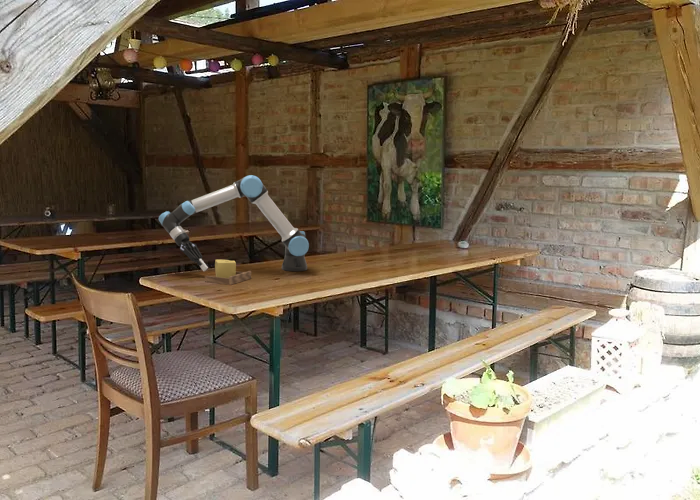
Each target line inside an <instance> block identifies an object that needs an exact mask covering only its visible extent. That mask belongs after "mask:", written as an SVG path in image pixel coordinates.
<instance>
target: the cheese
mask: <svg viewBox="0 0 700 500" xmlns="http://www.w3.org/2000/svg"><path fill="white" fill-rule="evenodd" d="M214 270H215V277H222V278H229V277H230V276H234V275H236V271H237V263H236V261H235V260H229V259H215V262H214Z"/></svg>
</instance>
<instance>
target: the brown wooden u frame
mask: <svg viewBox="0 0 700 500" xmlns="http://www.w3.org/2000/svg"><path fill="white" fill-rule="evenodd" d="M251 279H252V271H251V270H248V271H238V270H236V275H234V276H230V277H229V278H222V277H216V276H214V275H213V276H211V275H205V283H212V284H220V285H229V286H232V285H234V284H237V283H241V282H245V281H248V280H251Z"/></svg>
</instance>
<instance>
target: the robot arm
mask: <svg viewBox="0 0 700 500" xmlns="http://www.w3.org/2000/svg"><path fill="white" fill-rule="evenodd" d="M243 197H246V198H247V200H248V201H249V202H250V203H251V204H254V205H256V206H257V208H258V209H259V210H260V212H261V213H262V214H263V215H264V217H265V218H266V219H267V220H268V222H269V223H270V224H271V225H272V227H273V228H274V229H275V230H276V232H277V233H278V235H280V237H281V242H282V243H283V245H284V247H285V248H284V249H285V250H284V258H283V261H282V264H281V270H282V271H287V272H305V271H307V270H308V264H307V261H306V257H305V255H306V254H307V252H308V251H309V247H310V243H309V239H307V238H306V232H305V231H303V230H302V231H301V230H299V228H297V227H294V226H293V225H292V224H291V222H290V221H289V220H288V219H287V217H286V216H285V215H284V213H283V212H282V211H281V210H280V208H279V207H278V206H277V205H276V203H275V202H274V201H273V199H272V198H271V197H270V196H269V191H268V189H267V188H266V186H265V185H264V184H263V182H262V180H261V179H260V178H259V177H258V176H256V175H252V174H249V175H246V176H244V177H242V178H240V179H239V180H236V181H234V182H233V184H231V185H227V186H226V187H223V188H221V189H218V190H216V191H215V190H214V191H212V192H210V193H206V194H204V195H202V196H199V197H196V198H194V199H191V200H186V201H184V202H183V203H180V204H179V206H177V207H176V208H175V209H174V210H173V211H171V212H170V211H169V210H168V211H167V210H166V211H165V212H162V213H161V214H160V215H158V221H159V222H160V225H161V226H162V227H163V228H164V230H165V231H166V232H167V233H168V235H170V237H171V239H173V241H174V242H175V244H176V245H177V246H178V247H180V248H179V251H181V252H182V253H183V254H184V255H185V256H186V257H188V258H189V260H190V261H191V262H193V263H194V264H197V265H198V266H199V267H200V269H201V270H202V271H203V272H206V271H208V268H209V267H208V266H207V264H206V263H205V262H204V260H203V257H204V256H203V255H202V253H201V251H200V249H199V248H198V246H197V243H193V242H192V241H191V240H190V236H189V235H188V234H187V232H186V231H185V230H184V228H183V227H182V226H181V225H180V224H181V223H183V222H184V221H185V220H186V219H188V218H189V217H190V216H191V215H194V214H197V213H199V212H202V211H204V210H206V209H207V210H208V209H210V208H212V207H215V206H218V205H220V204H223V203H226V202H228V201H231V200H234V199H237V198H239V199H241V198H243Z"/></svg>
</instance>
